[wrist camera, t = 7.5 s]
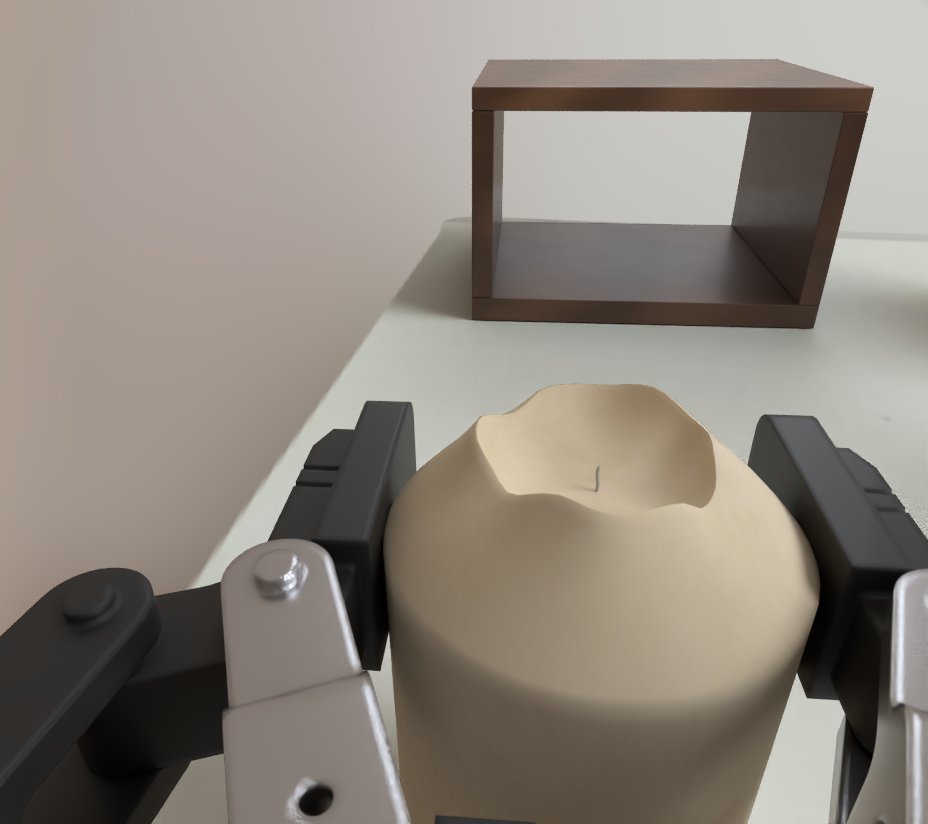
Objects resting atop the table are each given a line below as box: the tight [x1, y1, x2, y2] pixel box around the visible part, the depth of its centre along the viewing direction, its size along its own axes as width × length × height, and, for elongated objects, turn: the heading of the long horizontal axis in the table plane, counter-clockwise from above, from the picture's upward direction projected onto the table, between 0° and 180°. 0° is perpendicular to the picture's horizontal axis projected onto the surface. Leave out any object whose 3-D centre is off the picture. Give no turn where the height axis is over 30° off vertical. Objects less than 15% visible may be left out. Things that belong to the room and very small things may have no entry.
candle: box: [383, 384, 820, 824], centre depth 11 cm, size 6×6×10 cm
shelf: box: [472, 59, 874, 328], centre depth 40 cm, size 17×14×11 cm
